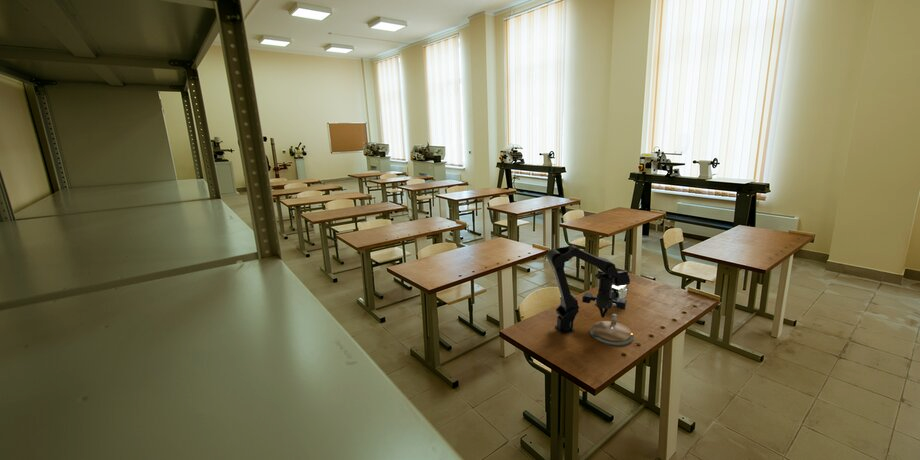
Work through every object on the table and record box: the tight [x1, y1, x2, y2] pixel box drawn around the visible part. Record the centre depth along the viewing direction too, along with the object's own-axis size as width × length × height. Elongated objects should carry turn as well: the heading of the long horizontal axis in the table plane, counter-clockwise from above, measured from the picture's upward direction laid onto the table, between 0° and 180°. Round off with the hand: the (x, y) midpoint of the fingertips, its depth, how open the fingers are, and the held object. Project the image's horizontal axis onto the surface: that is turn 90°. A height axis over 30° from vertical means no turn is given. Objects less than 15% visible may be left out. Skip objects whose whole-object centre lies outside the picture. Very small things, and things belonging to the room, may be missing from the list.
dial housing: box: [589, 325, 634, 347], centre depth 173 cm, size 18×18×1 cm
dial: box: [592, 313, 632, 342], centre depth 172 cm, size 16×16×5 cm
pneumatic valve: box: [611, 284, 629, 307], centre depth 198 cm, size 6×12×12 cm, turn 129°
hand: (602, 317), depth 180 cm, fingers closed
